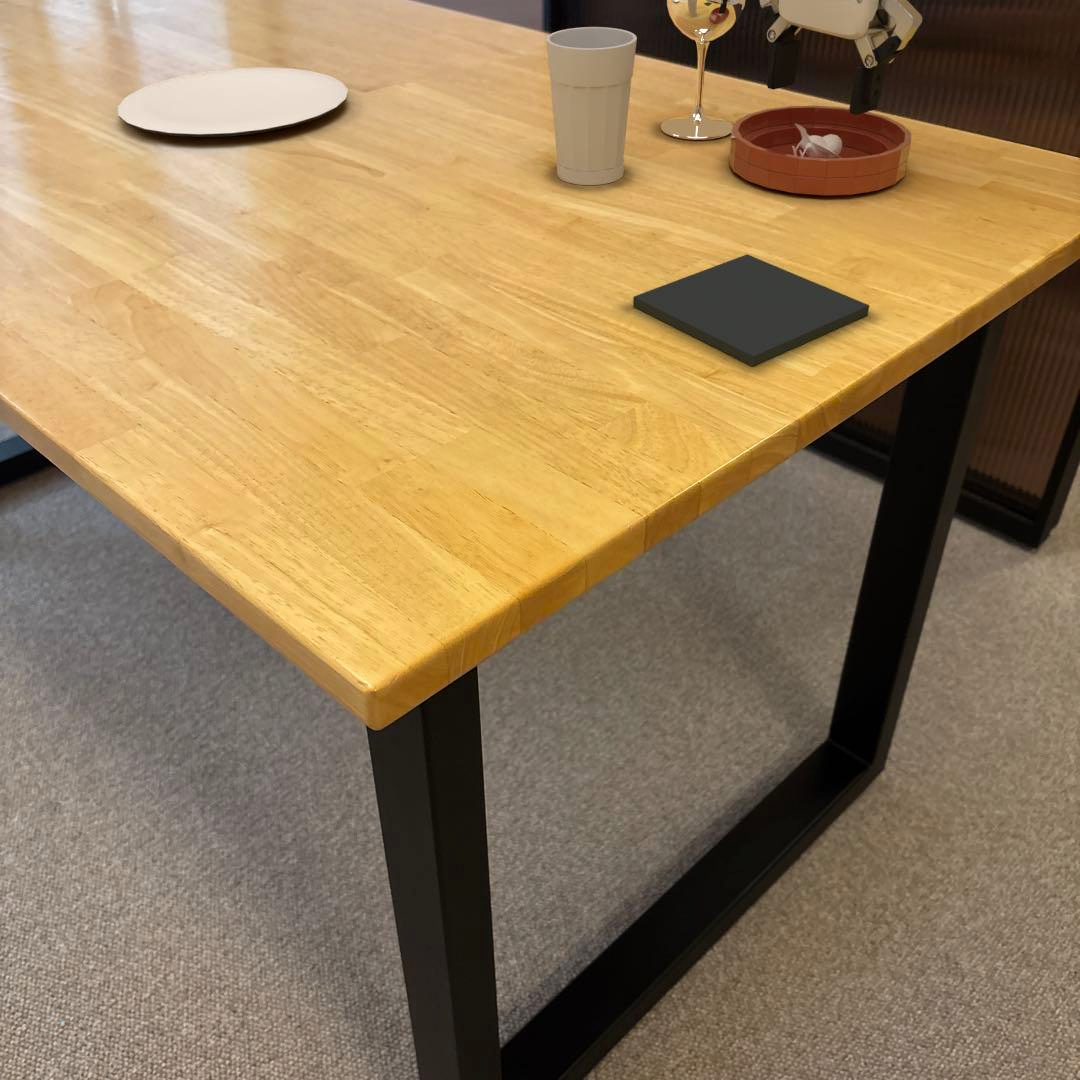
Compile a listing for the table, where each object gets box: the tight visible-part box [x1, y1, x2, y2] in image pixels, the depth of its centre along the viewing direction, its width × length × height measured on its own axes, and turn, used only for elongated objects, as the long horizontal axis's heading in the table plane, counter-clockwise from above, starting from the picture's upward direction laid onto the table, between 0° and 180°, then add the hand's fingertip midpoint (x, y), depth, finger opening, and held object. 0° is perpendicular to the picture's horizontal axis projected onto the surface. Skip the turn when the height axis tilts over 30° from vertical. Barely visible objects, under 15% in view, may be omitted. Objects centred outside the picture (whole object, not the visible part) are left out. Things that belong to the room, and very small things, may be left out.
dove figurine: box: [792, 123, 842, 159], centre depth 101 cm, size 8×5×5 cm, turn 19°
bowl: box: [728, 105, 912, 196], centre depth 102 cm, size 16×16×4 cm
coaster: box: [632, 253, 870, 367], centre depth 79 cm, size 12×12×1 cm
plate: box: [117, 66, 349, 138], centre depth 120 cm, size 25×25×2 cm
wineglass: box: [660, 0, 747, 141], centre depth 107 cm, size 8×8×20 cm
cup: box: [546, 26, 638, 186], centre depth 99 cm, size 8×8×12 cm
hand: (820, 98), depth 99 cm, fingers open, 9 cm apart
